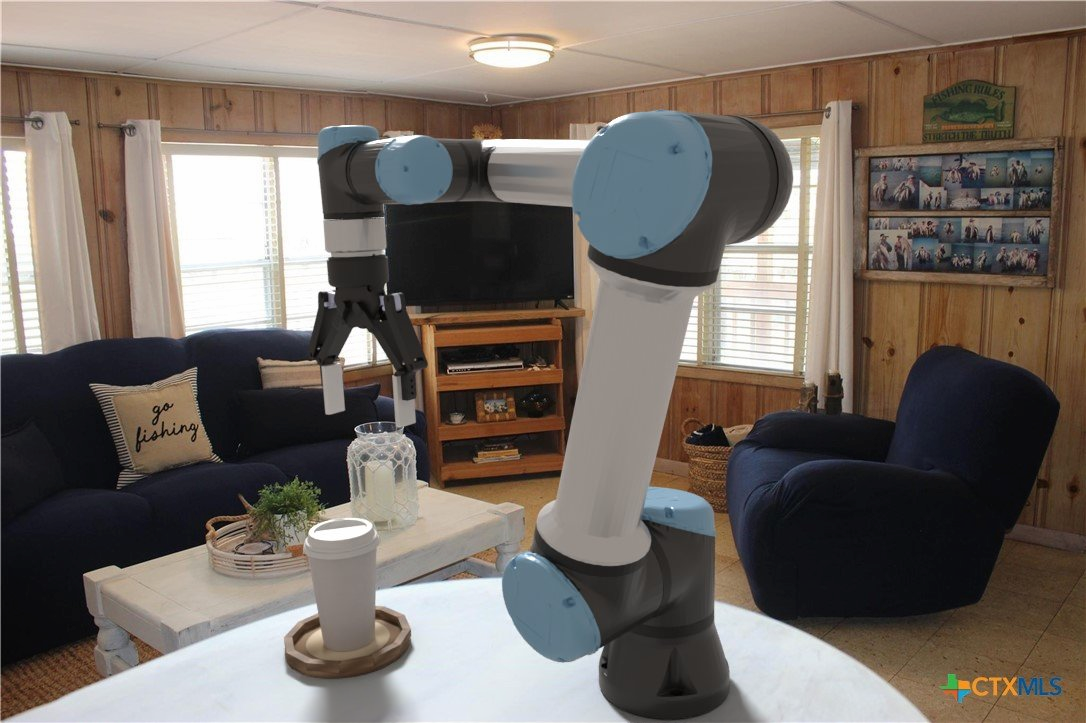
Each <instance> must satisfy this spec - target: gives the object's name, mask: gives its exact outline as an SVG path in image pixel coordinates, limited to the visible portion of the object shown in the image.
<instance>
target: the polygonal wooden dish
mask: <svg viewBox="0 0 1086 723" xmlns="http://www.w3.org/2000/svg"><path fill="white" fill-rule="evenodd" d="M411 637H412V628H411V626H410V624H409V622H408V619H407V617H406V615H405V614H403V613H401V612H399V611H396V610H394V609H392V608H389V607H387V606H383V605H375V638H374V640H373V641H372V642H371V643H370V644H369V645H367V646H365V647H363V648H360V649H357V650H353V651H345V652H339V651H333V650H330V649H328V648H326V647H325V646H324V643H323V637H322V632H321V626H320V620H319V615H318V612H317V613H315V614H313V615H311V616H309V617H306V618H304V619H302V620H300V621H297V623H296V624H295V625H294V626H293V627H291V629H290V630H289V631H288V632H287V633H286V634H285V635H284V636H283V640H284V641H283V642H284V656H285V661H286V663H287V665H288V666H289V667H290V669H292V670H294V671H295V672H297V673H299V674H301V675H304V676H307V677H311V678H318V679H330V680H331V679H345V678H347V679H348V678H353V677H359V676H363V675H367V674H370V673H373V672H376V671H378V670H379V671H380V670H381V669H383V668H385V667H388V666H389V665H391V664H393V663H394V662H396V661H397V660H398V659H400V658H401V657H402V656H403V655H404V654H405V653H406V652H407V651H408V648H409V647H410V644H411Z"/></svg>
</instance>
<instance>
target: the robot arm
mask: <svg viewBox="0 0 1086 723" xmlns="http://www.w3.org/2000/svg"><path fill="white" fill-rule="evenodd" d="M379 135H380V134H379V131H378V129H377V128H375V127H374V126H371V125H370V126H369V125H359V124H358V125H357V124H355V125H353V124H352V125H337V126H334V125H333V126H327V127H323V128H321V130H320V131H319V132H318V134H317V148H318V150H317V153H318V157H317V158H316V159H317V161H316V162H317V163H316V164H317V166H318V175H319V187H320V197H321V206H322V208H321V209H322V214H323V234H324V236H323V237H324V249H325V250H324V251H325V252H327V253H329V254H330V255H331V256H328V257H327V259H326V268H327V282H328V285H329V286H330V287H333V288H335V289H330V290H323V291H319V292H318V294H317V311H316V316H315V318H314V319H315V320H314V324H313V328H312V333H311V336H310V340H309V343H308V344H309V345H308V349H307V357H308V359H309V360H315V361H316V363H317V365H318V366H319V372H320V381H321V382H320V383H321V384H320V385H321V388H323V401H324V402H323V403H324V411H325V412H324V413H325V415H328V416H329V415H330V416H331V415H334V414H338V413H341V412H344V411H346V407H345V406H346V405H345V394H344V382H343V381H344V380H343V369H342V363H341V362H340V361H341V359H340V358H339V357H340V354H341V353H342V350H343V348H344V346H345V344H346V343H347V340H348V338H349V336H350V335H351V333H352V331H353V329H354V328H358V329H360V330H361V329H362V330H367V331H368V332H369V333H370V334H373V337H374V338H375V339H376V341H377V343H378V344H379V345H380V347H381V349H382V350H383V353H384V354H385V355H386V356H387V359H388V360H389V362H390V363H391V365H392V367H393V368H394V370H395V372H394V374H393V375H391V376H392V377H391V378H392V390H393V394H392V395H393V404H394V406H393V407H394V420H395V427H396V428H404V427H406V426H411V425H413V424H416V423H417V419H416V407H415V406H416V405H415V404H416V403H415V399H417V396H418V395H417V381H416V380H417V378H416V375H417V372H418V371H421V370H423V369H427V368H428V366H429V363H428V362H429V361H428V360H427V358H426V355H425V352H424V350H423V347H422V345H421V342H420V340H419V337H418V336H417V333H416V330H415V328H414V325H413V323H412V320H411V317H410V316H409V313H408V311H407V304H406V298H405V295H404V293H403V292H396V293H389V294H387V293H386V291H385V285H386V284H387V283H388V282H389V281H390V274H389V273H390V272H389V259H388V256H387V255H386V254H385V253H383V251H384V250H386V249H387V237H386V236H387V234H386V233H387V232H386V222H385V220H386V219H385V217H386V216H385V215H386V214H385V205H407V206H412V205H423V204H430V203H431V204H433V203H456V202H493V203H494V202H495V203H515V204H518V203H519V204H526V205H529V204H530V205H542V206H555V207H556V206H557V207H570V208H572V212H573V213H574V214H575V215H576V216H578V221H577V223H576V225H577V226H578V230H579V231H580V233H581V235H582V236H583V238H584V239H585V240H586V242H588V248H587V249H588V250H587V254H586V259H587V261H588V263H589V264H590V265H591V267H592V268H593V270H594V271H595V273H596V274H597V276H598V278H599V282H598V286H597V291H596V297H595V302H594V307H593V313H592V317H591V322H590V327H589V331H588V332H589V333H588V337H587V343H586V347H585V352H584V356H583V363H582V367H581V373H580V378H579V381H578V387H577V393H576V399H575V401H574V402H575V404H574V408H573V413H572V417H571V423H570V429H569V433H568V438H567V442H566V443H567V444H566V448H565V455H564V459H563V464H562V468H561V473H560V478H559V483H558V484H559V485H558V488H557V494H556V499H554V500H552V501H550V502H548V503H547V504H545V505H544V506H543V507H542V508H541V509H540V510H539V512H538V514H537V517H536V522H535V528H534V532H533V537H532V542H531V546H530V548H529V549H528V550H526V551H520V552H518V553H516V554H515V555H514V557H512V558H510V559H509V560H508V561H507V563H506V565H505V566H504V569H503V572H502V578H501V588H502V590H501V591H502V598H503V601H504V605H505V608H506V611H507V613H508V615H509V617H510V619H511V620H512V623H513V625H514V627H515V628H516V629H515V630H517V632H518V633H519V635H520V636H521V637H522V639H523V640H524V642H526V644H527V645H528V646H530V647H531V648H532V649H533V651H534V652H536V653H538V654H539V655H540V656H542V657H544V658H545V659H548V660H551V661H553V662H557V663H562V664H563V663H572V662H575V661H577V660H579V659H582V658H583V657H585V656H593V655H594V654H596V653H597V652H598V651H599V649H601V648H602V652H601V654H600V657H599V660H598V685H599V689H600V691H601V693H602V695H604V697H605V698H606V699H607V700H608V701H609V702H611V703H612V704H613V705H614V706H616V707H618V708H619V709H621V710H624V711H626V712H629V713H632V714H635V715H637V716H642V717H646V718H652V719H658V720H659V719H661V720H662V719H663V720H676V719H677V720H678V719H686V718H691V717H697V716H700V715H703V714H706V713H708V712H710V711H712V710H714V709H716V708H717V707H718V706H720V705H721V704H722V703H723V702H724V701H725V700H726V698H727V697H728V695H729V692H730V684H731V683H730V682H731V681H730V679H731V678H730V677H731V676H730V674H731V672H730V666H729V662H728V660H727V658H726V655H725V652H724V648H723V645H722V642H721V639H720V636H719V634H718V630H717V627H716V623H715V596H716V595H715V593H716V592H715V591H716V590H715V588H716V586H715V583H716V582H715V581H716V579H715V578H716V573H715V572H716V567H715V566H716V537H717V531H716V524H715V512H714V509H713V507H712V504H710V503H709V502H708V500H706V499H705V498H704V497H702V496H700V495H697V494H696V493H692V492H688V491H685V490H682V489H681V490H680V489H675V488H670V487H659V486H650V483H651V480H652V474H653V470H654V467H655V462H656V458H657V454H658V450H659V447H660V443H661V438H662V434H663V430H664V425H665V421H666V417H667V413H668V409H669V405H670V400H671V396H672V392H673V388H674V384H675V380H676V375H677V371H678V367H679V363H680V360H681V354H682V350H683V346H684V342H685V337H686V335H687V330H688V326H689V322H690V317H691V313H692V309H693V305H694V300H695V299H696V297H698V296H700V295H701V294H703V293H705V292H706V291H708V290H709V289H711V288H713V287H714V286H715V285H716V284H717V280H718V275H719V271H720V267H721V265H722V260H723V255H724V252H725V249H726V246H729V245H735V244H740V243H743V242H747V241H748V242H749V241H750V240H752V239H754V238H756V237H757V236H759V235H762V234H764V233H765V232H767V231H768V230H769V229H770V228H771V227H773V225H774V224H775V223H776V222H777V220H779V218H780V217H781V216H782V214H783V213H784V211H785V209H786V208H787V205H788V204H789V202H790V197H791V195H792V192H793V185H794V172H793V164H792V161H791V157H790V154H789V152H788V150H787V148H786V145H785V144H784V143H783V141H782V140H781V139H780V137H779V136H778V135H777V134H776V133H775V132H774V131H773V130H772V129H771V128H769V127H768V126H767V125H765V124H763V123H761V122H759V121H757V120H754V119H752V118H749V117H747V116H742V115H730V114H727V115H726V114H725V115H724V114H722V115H721V114H709V113H697V112H689V111H678V110H666V109H662V108H659V109H655V110H650V111H637V112H632V113H631V112H630V113H626V114H624V115H621V116H619V117H617V118H615V119H612V121H610V122H608V123H607V124H606V125H605V126H604V127H602V128H601V129H599V130H598V131H597V132H596V133H595V134H594V135H593V137H592V138H591V139H589V138H588V139H584V138H583V139H582V138H581V139H577V138H576V139H568V138H567V139H565V138H564V139H563V138H562V139H553V138H552V139H545V138H544V139H540V138H539V139H530V138H529V139H520V138H518V139H516V138H515V139H514V138H513V139H505V138H489V139H485V138H484V139H482V138H481V139H480V138H479V139H478V138H477V139H476V138H474V139H471V138H469V139H468V138H465V139H462V138H460V139H459V138H458V139H456V138H434V137H432V136H430V135H429V136H428V135H420V134H413V135H412V134H405V135H403V134H402V135H398V136H397V137H391V138H383V139H380V136H379Z"/></svg>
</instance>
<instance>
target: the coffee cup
mask: <svg viewBox="0 0 1086 723" xmlns="http://www.w3.org/2000/svg"><path fill="white" fill-rule="evenodd" d="M380 544H381V538H380V535H379V533H378V532H377V530H376V529H375V528H374V526H373V523H372V522H371V521H369V520H367V519H364V518H358V517H342V518H341V517H339V518H334V519H329V520H326V521H322V522H319V523H317V524H315V525H313V526H312V527H311V528H310V529H309V530H308V533H307V536H306V538H305V539H304V542H303V547H302V551H303V553H304V554H305V555H306V556H307V559H308V565H309V569H310V574H311V580H312V587H313V591H314V597H315V603H316V607H317V608H316V609H317V613H318V615H319V620H320V626H321V632H322V637H323V643H324V646H325V647H326V648H328V649H330V650H333V651H339V652H345V651H353V650H357V649H360V648H363V647H365V646H367V645H369V644H370V643H371V642H372V641H373V640H374V638H375V606H376V592H377V590H376V589H377V588H376V587H377V553H378V552H377V549H378V547H379V545H380Z"/></svg>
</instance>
